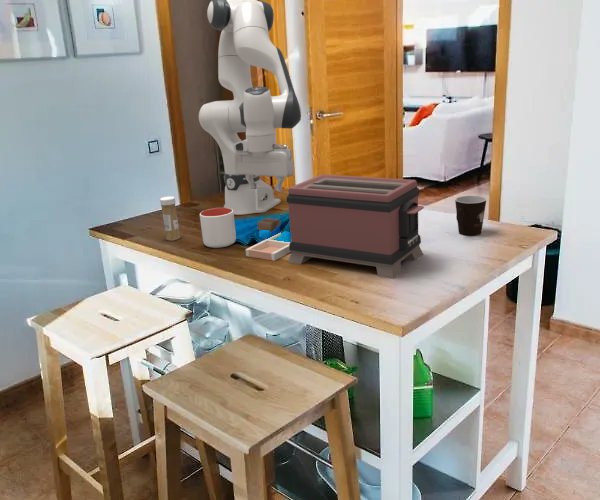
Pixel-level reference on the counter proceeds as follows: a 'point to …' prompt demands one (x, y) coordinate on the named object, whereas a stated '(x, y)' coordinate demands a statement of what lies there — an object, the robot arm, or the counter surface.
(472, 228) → the coffee mug
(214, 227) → the cup
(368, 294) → the counter surface
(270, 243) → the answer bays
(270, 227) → the walnut block
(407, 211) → the toaster
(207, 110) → the robot arm
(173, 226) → the sprinkles bottle
